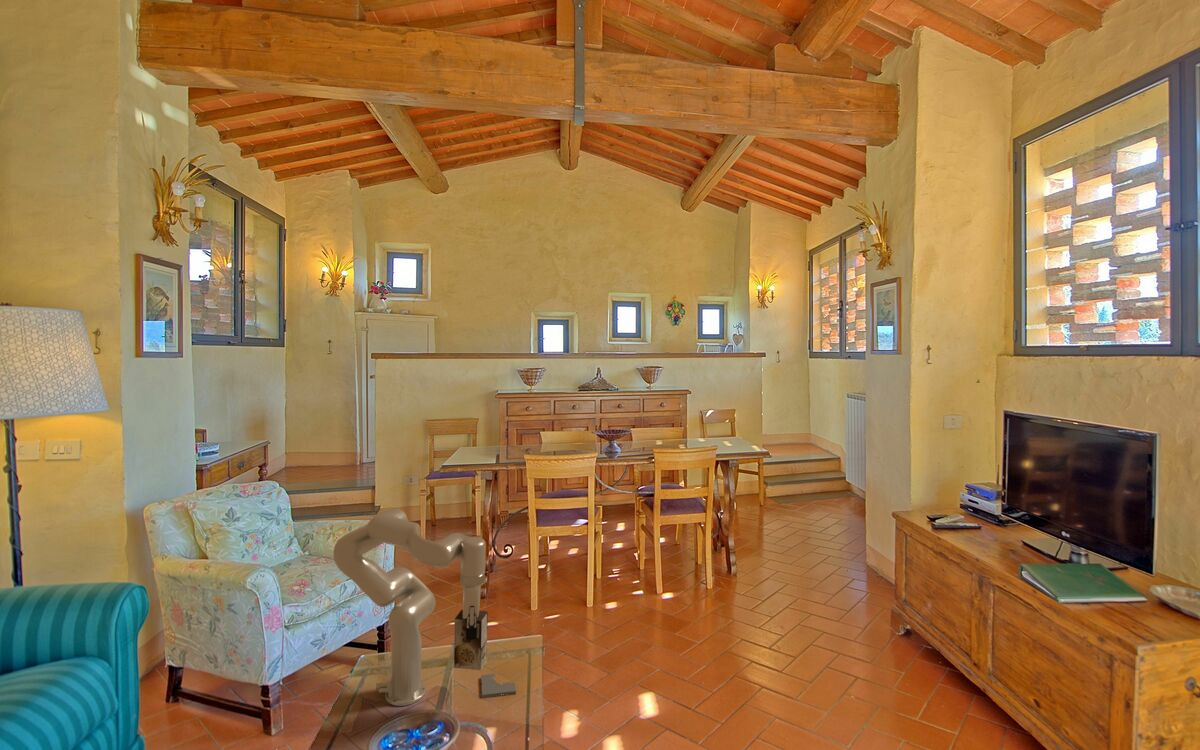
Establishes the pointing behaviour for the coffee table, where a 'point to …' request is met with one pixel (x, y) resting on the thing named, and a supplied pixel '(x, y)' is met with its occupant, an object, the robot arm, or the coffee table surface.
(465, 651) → the coffee box
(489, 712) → the coffee table surface
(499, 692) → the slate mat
